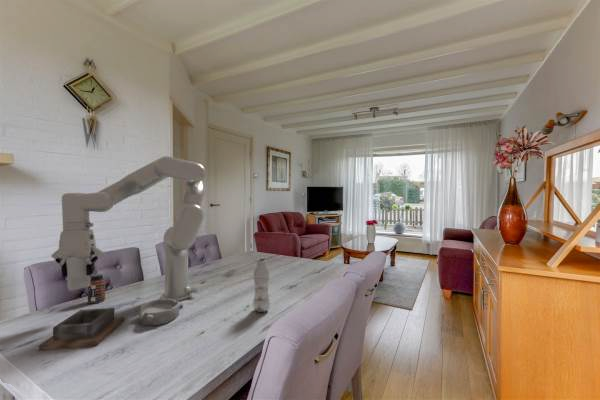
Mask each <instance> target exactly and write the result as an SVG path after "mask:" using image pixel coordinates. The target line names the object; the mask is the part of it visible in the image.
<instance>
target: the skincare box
mask: <svg viewBox="0 0 600 400" xmlns="http://www.w3.org/2000/svg"><path fill="white" fill-rule="evenodd" d="M87 264H88V263H87V261H86V260H85V258H77V257H67V259H66V267H67V276H66V278H67V280H66V282H67V289H68V290H69V291H74V290H75V291H76V290H79V289H84V288H88V287H89V286H90V280H91V275H87V272H86V265H87Z"/></svg>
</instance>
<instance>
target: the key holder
mask: <svg viewBox="0 0 600 400" xmlns="http://www.w3.org/2000/svg"><path fill="white" fill-rule="evenodd" d="M124 321H125V316H124V315H122V316H115V307H107V308H105V307H104V308H103V307H102V308H88V309H79V310H78V311H76V312H75V313H74V314H72V315H71V316H69V317H67V318H66V319H64V320H62V321H61V322H59V323H58V324H57V325H55V326H53V327H52V335H51V337H49V338H48V339H46V340H45V341H43V342H42V343H40V344H39V345H38V351H51V350H63V349H64V350H65V349H74V348H87V347H88V348H89V347H98V346H99V345H100V344H101V343H102V342H103V341H104V340H105V339H106V338H107V337H108V336H110V334H111V333H112V332H113V331H115V330H116V329H117V328H118V327H119V326H120V325H121V324H122V323H123V322H124Z"/></svg>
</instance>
